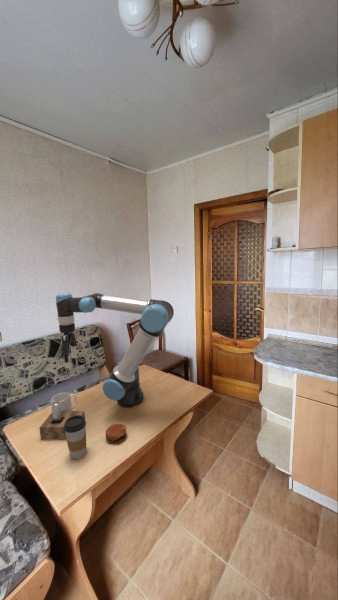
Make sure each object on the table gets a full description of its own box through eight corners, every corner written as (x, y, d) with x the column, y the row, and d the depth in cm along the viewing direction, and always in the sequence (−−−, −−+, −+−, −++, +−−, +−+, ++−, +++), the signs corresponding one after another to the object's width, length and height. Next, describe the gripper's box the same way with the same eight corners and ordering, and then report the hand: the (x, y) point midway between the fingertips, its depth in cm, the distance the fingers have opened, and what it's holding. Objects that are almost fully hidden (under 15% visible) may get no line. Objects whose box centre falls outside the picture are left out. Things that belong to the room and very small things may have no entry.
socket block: (85, 421, 123) (84, 410, 122) (75, 438, 112) (74, 426, 111) (54, 422, 124) (52, 411, 123) (41, 439, 112) (39, 427, 111)
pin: (64, 425, 118) (61, 401, 117) (60, 429, 115) (57, 405, 113) (56, 425, 118) (54, 401, 117) (52, 430, 115) (49, 405, 114)
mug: (57, 424, 122) (55, 403, 121) (51, 416, 129) (48, 397, 127) (81, 413, 130) (78, 394, 129) (74, 407, 137) (72, 388, 135)
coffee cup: (71, 447, 107) (67, 415, 104) (90, 445, 107) (87, 413, 105) (64, 462, 98) (60, 428, 96) (86, 460, 99) (82, 426, 97)
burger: (103, 434, 114) (102, 425, 113) (123, 427, 118) (122, 418, 117) (108, 448, 105) (108, 438, 104) (129, 440, 109) (129, 430, 109)
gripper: (65, 318, 139) (70, 354, 142) (51, 330, 114) (56, 373, 118) (79, 317, 140) (83, 353, 143) (67, 329, 115) (72, 372, 119)
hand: (71, 362), depth 130 cm, fingers open, 13 cm apart
